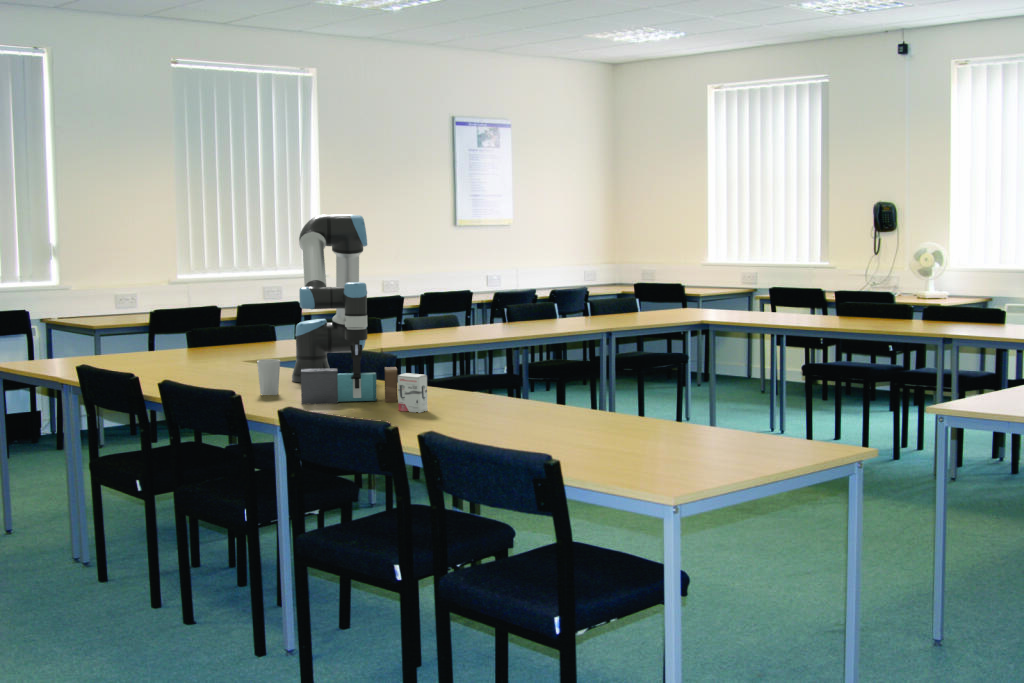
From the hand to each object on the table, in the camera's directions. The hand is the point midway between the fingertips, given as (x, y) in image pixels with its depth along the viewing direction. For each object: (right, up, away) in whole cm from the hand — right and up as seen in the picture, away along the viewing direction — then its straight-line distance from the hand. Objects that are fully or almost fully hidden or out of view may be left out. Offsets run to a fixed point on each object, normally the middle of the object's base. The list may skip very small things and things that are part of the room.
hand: (357, 396), depth 370 cm
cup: (-33, 0, +15) cm, 36 cm away
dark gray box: (-12, -2, -2) cm, 13 cm away
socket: (+11, -1, +2) cm, 12 cm away
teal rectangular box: (-4, -2, 0) cm, 5 cm away
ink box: (+21, -4, -19) cm, 28 cm away
